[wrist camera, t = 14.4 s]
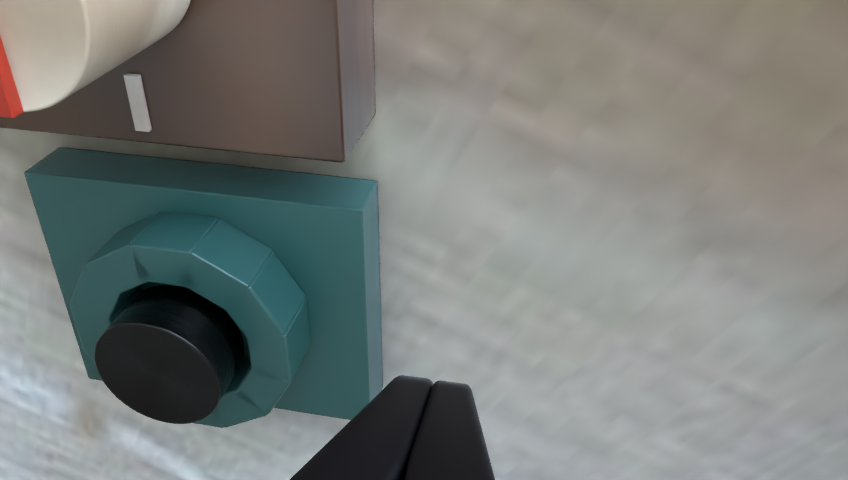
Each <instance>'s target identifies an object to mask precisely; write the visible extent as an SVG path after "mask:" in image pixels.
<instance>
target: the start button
mask: <svg viewBox="0 0 848 480" xmlns="http://www.w3.org/2000/svg"><path fill="white" fill-rule="evenodd" d="M244 352H245V349H244V341H243V337H242V335H241V332H240V330H239V328H238V326H237V325H236V324H235V322H234V321H233V320H232V318H231V317H230V316H229V315H228V313H227V312H226V311H225V310H224V309H223V308H221V307H220V306H218V305H216V304H214V303H213V302H211V301H209V300H207V299H206V298H204V297H202V296H201V295H199V294H197V293H195V292H194V291H192V290H190V289H188V288H185V287H181V286H175V285H158V286H153V287H150V288H147V289H145V290H143V291H141V292H139V293H138V294H137V295H135V297H134V298H133V299H132V300H131V301H130V302H129V303H128V305H127V306H126V307H125V308H124V309H123V310H122V311H121V313H120V314H119V315H118V316H117V317H116V318H115V320H114V321H113V322H112V323H111V324H110V325H109V326H108V328H107V329H106V330H105V331H104V332H103V333H102V334H101V336H100V337H99V339H98V340H97V343H96V346H95V352H94V358H95V364H96V368H97V370H98V373H99V375H100V377H101V379H102V380H103V382H104V383H105V385H106V386H107V387H108V388H109V390H110V391H111V392H112V393H113V394H114V395H115V396H116V397H117V398H118V399H119V400H121V401H122V402H123V403H124V404H126V405H127V406H129V407H130V408H132V409H133V410H135V411H137V412H138V413H140V414H143V415H145V416H147V417H149V418H152V419H155V420H158V421H162V422H167V423H174V424H186V423H193V422H197V421H199V420H202V419H204V418H205V417H207V416H209V415H210V414H211V413H212V412H213V411H214V410H215V408H216V407H217V405H218V404H219V402H220V400H221V399H222V397H223V395H224V394H225V392H226V390H227V388H228V387H229V385H230V383H231V382H232V380H233V378H234V377H235V375H236V373H237V372H238V370H239V368H240V366H241V364H242V363H243V359H244Z"/></svg>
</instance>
